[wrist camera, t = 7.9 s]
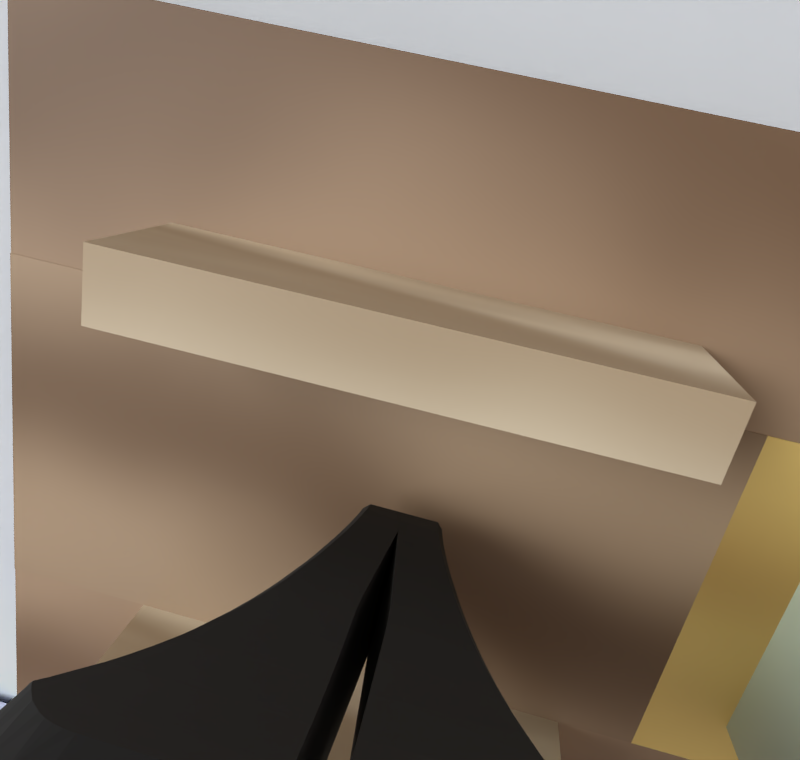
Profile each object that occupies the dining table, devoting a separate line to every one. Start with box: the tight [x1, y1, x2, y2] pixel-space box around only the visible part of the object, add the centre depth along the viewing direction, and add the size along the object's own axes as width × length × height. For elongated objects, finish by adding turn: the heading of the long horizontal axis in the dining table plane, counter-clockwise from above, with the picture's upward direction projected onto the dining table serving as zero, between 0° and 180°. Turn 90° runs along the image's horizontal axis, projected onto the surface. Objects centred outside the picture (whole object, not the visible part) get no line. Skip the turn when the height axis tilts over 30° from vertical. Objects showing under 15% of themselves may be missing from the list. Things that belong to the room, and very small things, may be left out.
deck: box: [8, 0, 800, 760], centre depth 12 cm, size 16×28×4 cm, turn 79°
